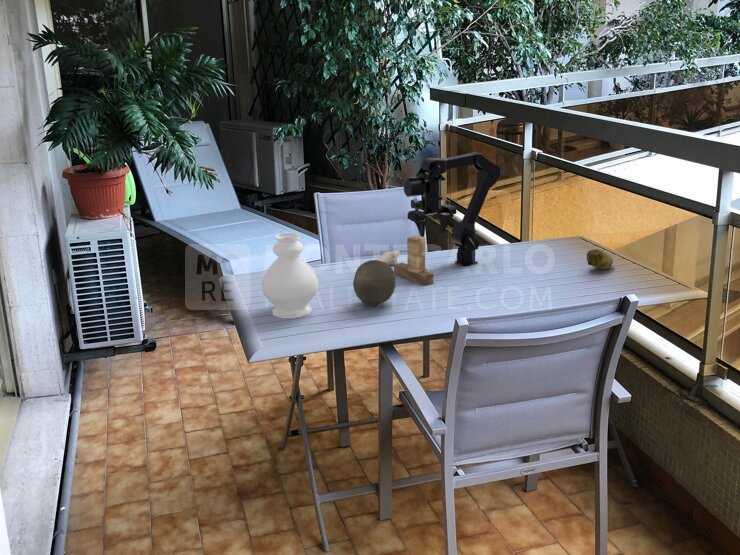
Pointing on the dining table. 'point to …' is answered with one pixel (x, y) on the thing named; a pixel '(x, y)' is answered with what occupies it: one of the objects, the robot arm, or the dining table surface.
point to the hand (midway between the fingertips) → (432, 235)
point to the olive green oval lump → (599, 259)
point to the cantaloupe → (374, 282)
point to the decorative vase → (289, 279)
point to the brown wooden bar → (413, 274)
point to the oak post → (416, 253)
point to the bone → (389, 257)
